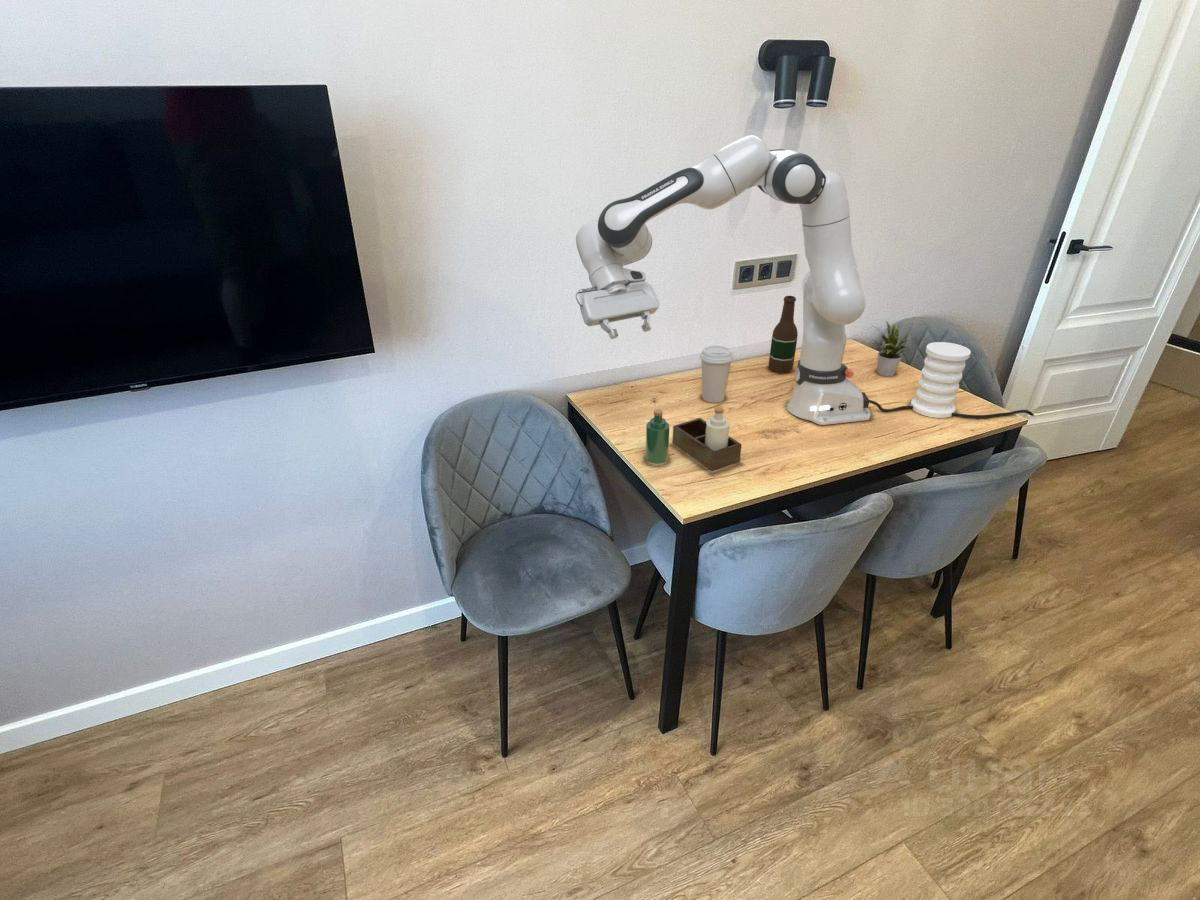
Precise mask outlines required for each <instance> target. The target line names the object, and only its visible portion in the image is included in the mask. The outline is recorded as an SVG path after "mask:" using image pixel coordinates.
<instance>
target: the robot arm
mask: <svg viewBox="0 0 1200 900" xmlns="http://www.w3.org/2000/svg"><path fill="white" fill-rule="evenodd" d="M753 187H757V188H759V190H760V191H761V192H762V193H764V194H765V195H768V196H769V197H770V198H772V199H774V200H775V201H778V202H779V201H780V202H783V203H786V204H789V205H790V204H791V205H798V206H799V208H800V211H801V212H800V213H801V226H802V237H803V246H804V255H805V259H806V260H807V264H808V267H809V271H807V272H806V274H805V276H804V277H803V278H802V282H801V289H802V296H803V297H802V298H803V299H802V320H803V321H802V322H803V325H802V327H803V331H802V334H803V335H802V341H801V350H800V357H799V360H798V361H797V365H796V369H795V376H794V378H795V379H794V380H795V383H794V386H793V390H792V393H791V396H790V399H789V401H788V402H787V404H786V409H787V411H788V412H789V413H790V414H791V415H793V416H795V417H797V418H800V419H802V420H807V421H810V422H812V423H814V424H816V425H819V426H827V425H835V424H836V425H837V424H843V423H844V424H845V423H855V422H864V421H869V420H870V419H871V414H872V413H871V409H870V408H869V405H870V404H871V405H874V406H876V407H877V409H878V410H880V412H883V413H891V412H897V411H901V410H906V409H907V410H908V409H911V410H913V406H910V405H902V406H897V407H894V408H889V409H888V408H883V407H882V405H881V404H879V403H878V402H877V401H875V400H872V399H869V397H868V395H867V394H866V392H865V391H863V392H862V390H861V389H860V388H859V387H858V386H857V385H856V384H855V383H854V382H853V381H852V380H850V379H851V378H853V377H854V375H855V373H854V371H852V369H850V368H848V366H847V365H845V364H844V363H843V359H844V355H845V350H846V344H847V334H846V328H845V325H850V324H853V323H854V322H856V321H857V320H858V319H860V318H861V316H862V315H863V313H864V311H865V308H866V296H865V294H864V292H863V289H862V285H861V280H860V275H859V270H858V267H857V263H856V258H855V254H854V250H853V242H852V241H853V240H852V229H851V228H852V227H851V215H850V213H851V212H850V206H849V205H850V204H849V198H848V193H847V189H846V185H845V181H844V178H843V176H842V175H841V174H840V173H839V172H837V171H835V170H832V169H830V170H829V169H824V170H822V168H820V166H819V164H818V163H817V162H816V160H814V159H813V158H812V157H811V156H810V155H808V154H806V153H803V152H801V151H798V150H793V149H782V148H781V149H780V148H779V149H777V148H776V149H769V147H768V145H767V144H766V143H765V142H764V140H762V139H761V138H760V137H758V136H756V135H746V136H744V137H742V138H739V139H738V140H735V141H733V142H731V143H729V144H728V145H725V146H724V147H722V148H721V149H718V150H717V151H716V152H714V153H712V154H711V155H710V156H708V157H706V158H705V159H703V160H702V161H700V162H698V163H697V164H694V165H692V166H690V167H686V168H684V169H683V168H682V169H681V170H679V171H676V172H673V173H672V174H671V175H668V176H667V177H665V178H663V179H662V180H660V181H657V182H656V183H654V184H652V185H651V186H648V187H647V188H645V189H643V190H642V191H640V192H638V193H637V194H634V195H631V196H630V197H626V198H625V197H624V198H621V199H616V200H614V201H611V202H610V203H608V204H607V205H606V206H605V207H604V208H603V210H602V211H601V212H600V214H599V217H598V219H593V220H590V221H588V222H586V223H584V224H583V225H581V227H580V228H579V229H578V230H577V233H576V236H575V244H576V248H577V252H578V255H579V258H580V261H581V263H582V265H583V267H584V269H585V270H586V271H587V275H588V279H589V283H590V285H591V286H590V287H587V288H580V289H579V290H578V291H577V292H576V293H575V300H576V303H577V304H578V305H579V310H580V313H581V317H582V321H583V323H584V325H586V326H587V327H594V326H600V328H601V329H602V330H603V331H604V332H605V333H607V334H608V337H609V339H610V340H613V339H617V338H618V337H619V333H618V330H617V328H613V327H612V326H611V325H610V324H609V323H614V322H620V321H623V320H629V319H634V318H639V317H640V318H641V320H643V323H642V325H641V326H640V327H641V329H642V331H643V333H645V332H650V331H651V330H652V326H651V323H650V322H651V321H650V319H651V315H654V314H655V313H656V312H657V310H659V307H660V300H659V297H658V296H657V293H656V291H655V290H654V288H653V286H652V284H651V283H650V282H648V281H646V280H647V275H646V273H645V272H644V271H639V270H634V269H629V268H626V267H624V266H628V265H631V264H634V263H637V262H638V261H641V260H643V259H644V258H645V257H646V256H647V255H648V254H649V252H650V251H651V248H652V245H653V236H652V234H651V231H650V230H649V228H648V226H647V223H648V222H649V221H650V220H652V219H654V218H656V217H657V216H659V215H660V214H663V213H664V212H666V211H668V210H669V209H671V208H673V207H675V206H678V205H680V204H690V205H694V206H696V207H698V208H700V209H703V210H715V209H717V208H720V207H722V206H724V205H726V204H728V203H729V202H731V201H732V200H733V199H735V198H736V197H738V196H740V195H741V194H742V193H744V192H745V191H746V190H749V189H751V188H753ZM1016 414H1017V415H1018V414H1027V415H1029V416H1030V417H1034V416H1035V414H1034V413H1033V412H1032V411H1030V410H1028V409H1019V410H1013V411H1009V412H1008V411H1007V412H998V413H991V414H965V413H959V412H955V413H952V414H951V415H952V416H953V417H959V418H969V419H989V418H995V417H1004V416H1005V417H1006V416H1012V415H1016ZM952 416H951V417H952Z"/></svg>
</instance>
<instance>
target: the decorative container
mask: <svg viewBox="0 0 1200 900" xmlns="http://www.w3.org/2000/svg"><path fill="white" fill-rule="evenodd" d="M925 353H926V357H925V358H924V360H923V361H924V366H923V367H922V369H921V377H920V378H919V380H918V388H917V389H916V392H915V393H916V394H915V395H916V397H913V398H911V401H910V404H909V406H913V409H912V411H914V412H915V413H917V414H919V415H922V416H926V417H930V418H934V419H935V418H938V419H945V418H950V417H952V415H951V414H952V413H956V408H957V407H956V405H955V404H954V403H955V402H956V399H957V392H958V391H959V389H960V382H961V380H962V379H963V371H964V370H965V368H966V360H969V358H971V357H970V356H971V353H972V351H971V349H969V348H968V347H966V346H964V345H962V344H958V343H954V342H945V341H935V342H929V343H927V345H926V347H925Z"/></svg>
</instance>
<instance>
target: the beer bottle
mask: <svg viewBox="0 0 1200 900" xmlns="http://www.w3.org/2000/svg"><path fill="white" fill-rule="evenodd" d="M782 301H783V305H782V310H781V315H780V320H779V322H778V323H777V324H776V325H775V326H774V329H773V330H772V335H771V341H770V351H769V358H768V369H769V370H770V371H771V372H772V373H775V374H780V375H781V374H789V373H791V371H793V369H794V363H795V358H796V350H797V343H798V334H799V332H798V328H797V326H796V324H795V305H796V301H797V298H796V297H795V296H793V295H786V296H784V297H783V300H782Z"/></svg>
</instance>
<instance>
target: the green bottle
mask: <svg viewBox="0 0 1200 900" xmlns="http://www.w3.org/2000/svg"><path fill="white" fill-rule="evenodd" d="M663 412H664V411H663V409H659V408H657V409H654V410H653V417H652V418H650V420H649V421H648V422H647V423H646V424H645V461H646V462H648V463H650V464H653V465H661V464H664V463H666V462H667V461H668V460H669V447H670V446H669V445H670V424H669V422H667V421H666V420H667V419H666V418H664V417H663V415H664V413H663Z"/></svg>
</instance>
